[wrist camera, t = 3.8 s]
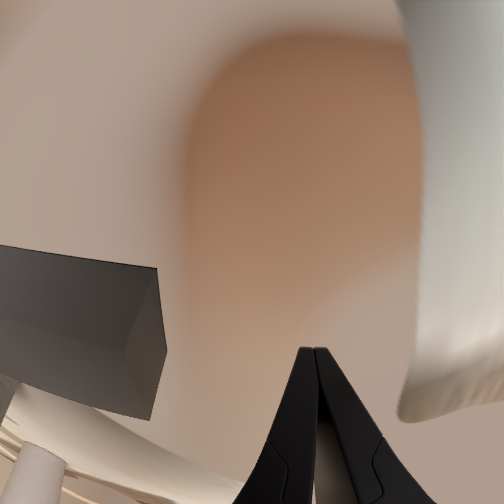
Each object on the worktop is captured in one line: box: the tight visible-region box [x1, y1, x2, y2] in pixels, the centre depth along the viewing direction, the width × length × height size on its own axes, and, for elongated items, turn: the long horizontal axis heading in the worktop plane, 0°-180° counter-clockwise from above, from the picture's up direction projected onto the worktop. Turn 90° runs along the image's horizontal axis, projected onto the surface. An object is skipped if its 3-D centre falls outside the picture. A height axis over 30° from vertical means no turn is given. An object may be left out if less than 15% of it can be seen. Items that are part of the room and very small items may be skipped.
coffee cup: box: [0, 442, 66, 504], centre depth 23 cm, size 10×10×15 cm
